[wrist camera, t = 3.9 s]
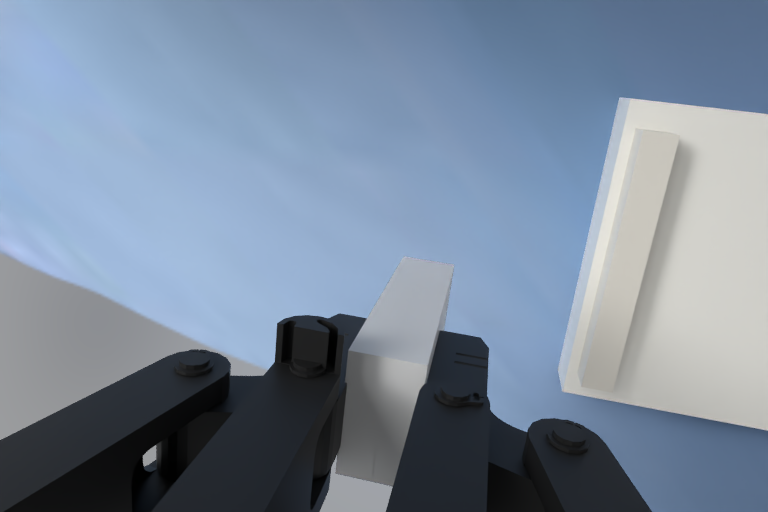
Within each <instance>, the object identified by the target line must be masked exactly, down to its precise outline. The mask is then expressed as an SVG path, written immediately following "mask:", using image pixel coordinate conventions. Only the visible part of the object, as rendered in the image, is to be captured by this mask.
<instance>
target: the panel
mask: <svg viewBox="0 0 768 512" xmlns="http://www.w3.org/2000/svg"><path fill="white" fill-rule="evenodd" d="M558 373H559V378H560V382H561V387H562V392H567V393H572V394H577V395H583V396H588V397H593V398H598V399H604V400H609V401H614V402H620V403H625V404H630V405H635V406H641V407H646V408H651V409H657V410H662V411H667V412H672V413H678V414H683V415H688V416H693V417H699V418H704V419H709V420H715V421H720V422H725V423H730V424H736V425H741V426H746V427H752V428H757V429H762V430H767V431H768V114H761V113H753V112H744V111H735V110H726V109H718V108H709V107H700V106H692V105H683V104H674V103H666V102H657V101H648V100H640V99H631V98H622V97H619V102H618V106H617V110H616V115H615V119H614V124H613V128H612V133H611V137H610V141H609V146H608V150H607V155H606V159H605V163H604V168H603V172H602V177H601V181H600V185H599V190H598V194H597V199H596V203H595V208H594V212H593V216H592V221H591V225H590V230H589V234H588V238H587V243H586V247H585V252H584V256H583V260H582V265H581V269H580V274H579V278H578V283H577V287H576V291H575V296H574V300H573V305H572V309H571V313H570V318H569V322H568V327H567V331H566V335H565V340H564V344H563V349H562V353H561V358H560V362H559V366H558Z"/></svg>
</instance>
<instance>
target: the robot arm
mask: <svg viewBox="0 0 768 512" xmlns="http://www.w3.org/2000/svg"><path fill="white" fill-rule="evenodd" d="M453 270H454V265H453V264H447V263H441V262H435V261H429V260H423V259H417V258H411V257H405V256H404V257H403V258H402V260H401V262H400V263H399V265H398V267H397V268H396V270H395V272H394V274H393V275H392V277H391V279H390V280H389V282H388V284H387V285H386V287H385V289H384V291H383V292H382V294H381V296H380V297H379V299H378V301H377V302H376V304H375V306H374V308H373V309H372V311H371V313H370V314H369V316H368V318H361V317H356V316H350V315H345V314H337V315H335V316H333V317H331V318H324V317H319V316H310V315H305V316H293V317H290V318H286V319H283V320H282V321H280V322H279V323H277V338H276V353H275V363H274V364H273V365H272V366H271V367H270V369H269V370H268V371H267V372H266V373H265V375H264V376H230V368H231V366H230V365H231V364H230V362H229V361H228V359H227V358H226V357H224V356H222V355H220V354H218V353H214V352H210V351H207V350H200V351H199V350H189V351H185V352H179V353H176V354H173V355H170V356H167V357H165V358H163V359H161V360H159V361H157V362H155V363H153V364H151V365H149V366H147V367H145V368H143V369H141V370H139V371H137V372H135V373H133V374H131V375H129V376H127V377H125V378H123V379H121V380H120V381H117V382H115V383H114V384H111V385H110V386H107V387H105V388H103V389H101V390H99V391H98V392H96V393H94V394H91V395H89V396H88V397H86V398H84V399H82V400H79V401H77V402H75V403H73V404H71V405H70V406H68V407H66V408H64V409H62V410H60V411H58V412H56V413H54V414H52V415H50V416H48V417H46V418H44V419H42V420H40V421H38V422H36V423H34V424H32V425H30V426H28V427H26V428H24V429H22V430H20V431H18V432H16V433H14V434H12V435H10V436H8V437H6V438H4V439H2V440H0V512H319V511H320V509H321V507H322V504H323V502H324V500H325V497H326V495H327V493H328V490H329V483H330V474H331V466H332V464H333V462H334V460H335V458H336V455H337V463H336V474H340V475H344V476H349V477H353V478H358V479H362V480H367V481H371V482H375V483H380V484H384V485H389V486H393V488H392V492H391V496H390V499H389V503H388V507H387V510H386V512H652V511H651V510H650V508H649V507H648V505H647V504H646V502H645V501H644V500H643V498H642V497H641V495H640V494H639V492H638V491H637V489H636V488H635V486H634V485H633V483H632V482H631V480H630V479H629V477H628V476H627V474H626V473H625V472H624V470H623V469H622V467H621V466H620V464H619V463H618V461H617V460H616V458H615V457H614V455H613V454H612V452H611V451H610V449H609V448H608V447H607V445H606V444H605V442H604V441H603V440H602V439H601V438H600V437H599V436H598V435H597V434H595V433H594V432H592V431H590V430H589V429H587V428H585V427H584V426H582V425H580V424H578V423H574V422H572V421H569V420H560V419H555V418H554V419H541V420H538V421H536V422H533V423H532V424H531V426H530V427H529V429H528V432H524V431H522V430H519V429H517V428H515V427H512V426H510V425H508V424H506V423H505V422H503V421H502V420H500V419H499V418H497V417H496V416H495V415H494V414H493V413H492V412H491V410H490V402H489V399H488V397H487V379H488V355H489V348H488V347H487V345H486V344H485V343H484V342H483V340H482V339H481V338H480V337H474V336H469V335H463V334H458V333H452V332H447V331H444V327H445V321H446V314H447V308H448V302H449V295H450V289H451V282H452V276H453ZM155 445H156V446H157V447H156V449H157V451H156V460H155V461H154V462H152V463H151V464H149V465H147V466H145V467H144V466H143V455H144V454H145V453H146V452H147V451H148V450H149V449H150V448H152V447H153V446H155ZM337 453H338V454H337Z"/></svg>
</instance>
